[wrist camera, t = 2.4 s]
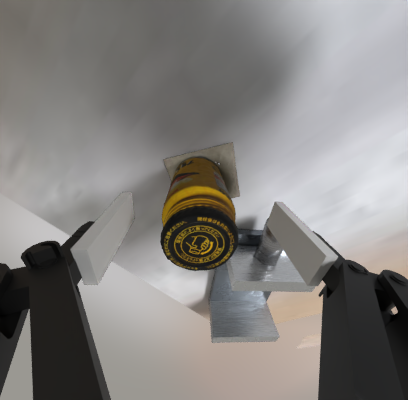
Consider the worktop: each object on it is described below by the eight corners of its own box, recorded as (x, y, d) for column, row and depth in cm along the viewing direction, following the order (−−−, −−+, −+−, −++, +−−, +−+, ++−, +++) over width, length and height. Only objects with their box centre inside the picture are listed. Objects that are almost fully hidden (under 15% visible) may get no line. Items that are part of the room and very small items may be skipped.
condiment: (163, 159, 19) (126, 216, 9) (232, 141, 19) (280, 181, 8) (181, 208, 23) (170, 290, 12) (239, 195, 22) (279, 269, 12)
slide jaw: (234, 212, 22) (246, 244, 16) (309, 217, 23) (343, 248, 18) (224, 254, 26) (232, 290, 20) (288, 256, 27) (311, 291, 21)
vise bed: (224, 228, 25) (234, 267, 19) (295, 232, 26) (327, 270, 20) (208, 300, 35) (211, 342, 28) (261, 300, 36) (275, 341, 29)
